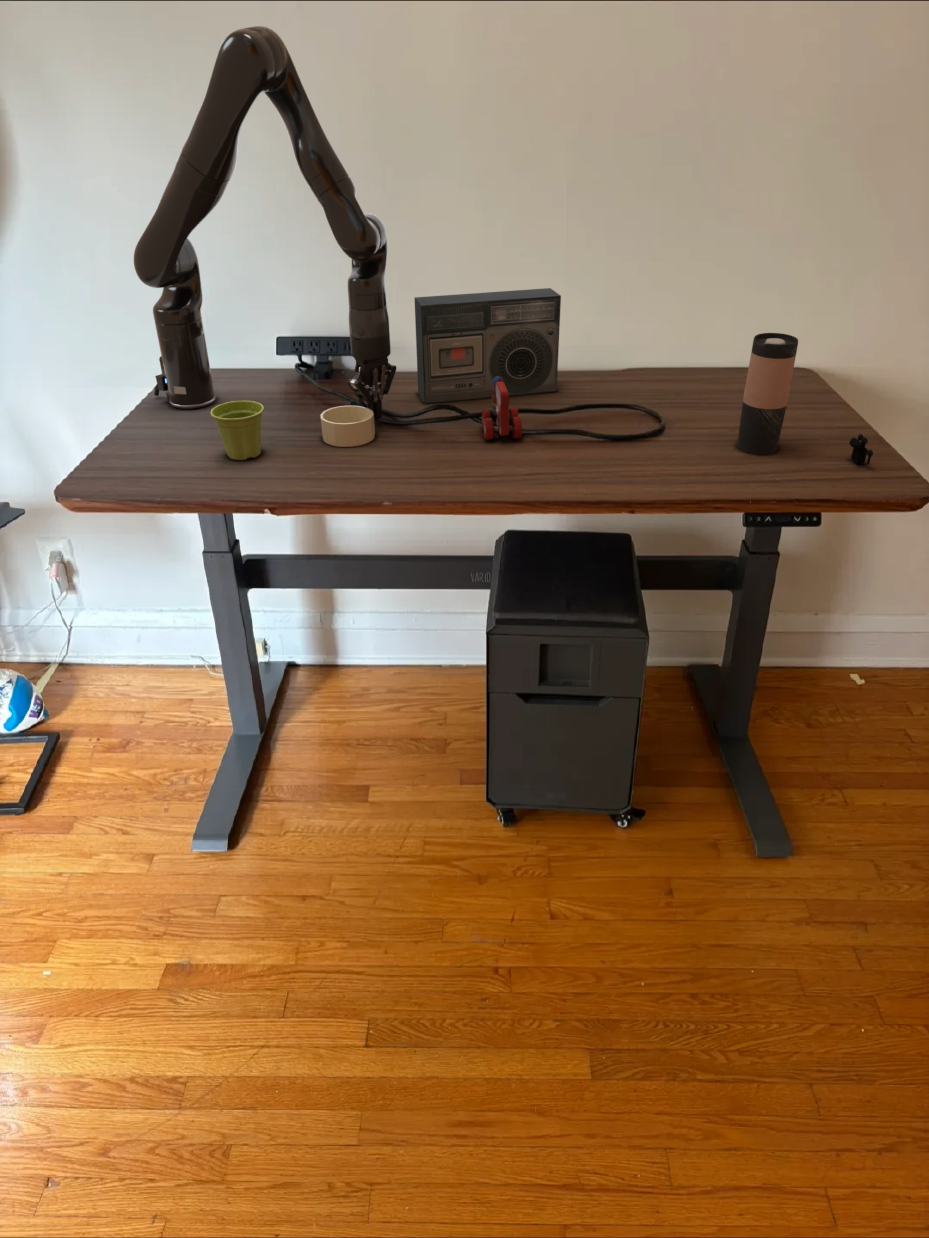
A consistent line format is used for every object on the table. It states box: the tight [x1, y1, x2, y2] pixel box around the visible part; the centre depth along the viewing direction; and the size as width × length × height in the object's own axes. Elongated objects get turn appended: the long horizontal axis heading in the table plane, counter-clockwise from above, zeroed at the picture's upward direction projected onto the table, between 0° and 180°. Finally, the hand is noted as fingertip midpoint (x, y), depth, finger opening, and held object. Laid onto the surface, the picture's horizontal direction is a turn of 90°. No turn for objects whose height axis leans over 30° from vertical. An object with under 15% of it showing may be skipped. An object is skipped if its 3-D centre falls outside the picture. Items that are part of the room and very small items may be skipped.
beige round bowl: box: [319, 405, 376, 448], centre depth 172 cm, size 10×10×4 cm
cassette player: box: [414, 287, 562, 405], centre depth 188 cm, size 29×7×20 cm, turn 104°
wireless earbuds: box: [849, 433, 874, 466], centre depth 158 cm, size 7×2×5 cm, turn 8°
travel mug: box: [736, 332, 799, 455], centre depth 161 cm, size 8×8×20 cm
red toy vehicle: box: [481, 376, 523, 441], centre depth 171 cm, size 7×12×10 cm, turn 4°
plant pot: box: [209, 400, 265, 461], centre depth 164 cm, size 9×9×9 cm
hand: (375, 418), depth 178 cm, fingers closed
